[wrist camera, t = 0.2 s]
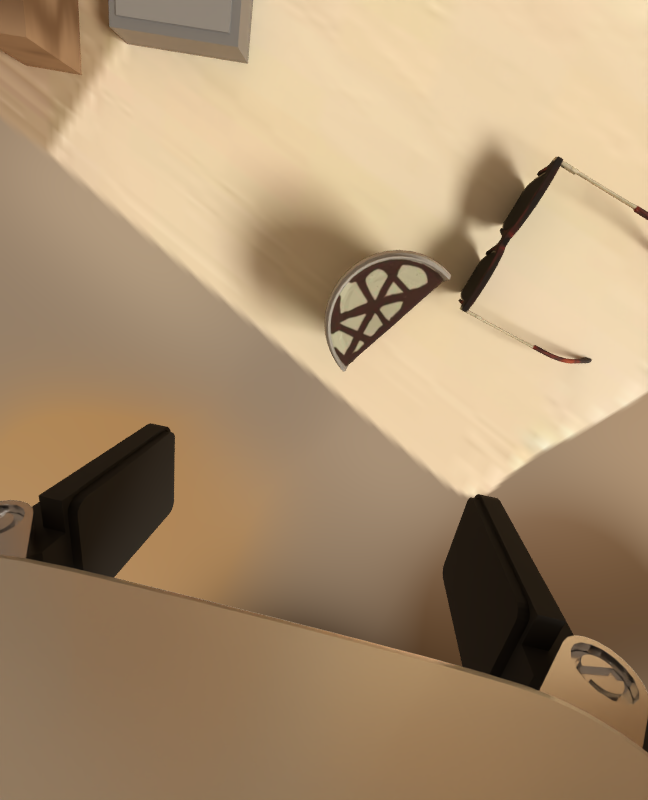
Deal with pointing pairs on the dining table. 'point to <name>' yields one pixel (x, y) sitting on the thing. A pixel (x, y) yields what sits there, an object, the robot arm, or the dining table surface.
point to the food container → (376, 299)
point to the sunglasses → (510, 227)
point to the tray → (186, 26)
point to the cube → (42, 33)
